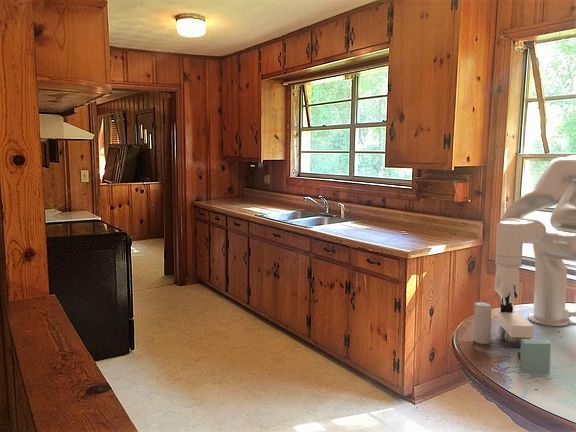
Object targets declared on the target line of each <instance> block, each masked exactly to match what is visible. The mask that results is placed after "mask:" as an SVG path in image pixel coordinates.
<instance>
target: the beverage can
mask: <svg viewBox="0 0 576 432" xmlns="http://www.w3.org/2000/svg"><path fill="white" fill-rule="evenodd" d="M473 307H474V308H473V313H474V314H473V341H474V342H475V343H476V344H479V345H488V344H490V343H491V335H492V334H491V332H492V331H491V327H492V326H491V325H492V305H491V303H489V302H486V301H477V302H474V306H473Z"/></svg>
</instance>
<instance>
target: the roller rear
mask: <svg viewBox="0 0 576 432" xmlns="http://www.w3.org/2000/svg"><path fill="white" fill-rule="evenodd" d="M505 333H506V331H505V330H504V328H503V327H502V326H501V325H500V326H499V329H498V334H499V335H498V336H499V338H500V340H505Z"/></svg>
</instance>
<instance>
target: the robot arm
mask: <svg viewBox="0 0 576 432" xmlns="http://www.w3.org/2000/svg"><path fill="white" fill-rule="evenodd" d="M553 206H555V208H554V210H553V211H552V214H551V216H550V220H549V221H550V224H551V226H552V227H553V228H554V229H553V228H546V226H545V223H543V222H541V221H540V220H535V219H529V218H528V219H527V218H524V217H526V216H527V215H529V214H530V213H534V212H536V211H540V210H544V209H547V208H551V207H553ZM495 238H496V241H495V265H496V267H495V277H494V287H493V289H494V291H495V293H496V294H498V296H499V297H500V312H502V313H514V304H515V302H516V301H515V299H518V298H519V295H520V268H521V267H522V265H523V264H522V262H523V244H530V245H531V244H532V248H533V253H534V254H533V255H534V261H535V262H534V265H535V267H534V269H535V270H534V290H533V292H534V293H533V311H532V312H529V313H528V315H527V318H528V320H529V321H531V322H533V323H535V324H538V325H543V326H548V327H564V326H568V325H570V322H571V319H570V318H571V317H574V318H576V310H573V309H567V308H566V301H567V300H566V298H567V278H568V271H567V266H566V264H565V263H564V261H569V262H574V263H576V154H574V155H569V156H566V157H565V156H564V157H556V158H553V159H552V160H551V161H550V162H549V163H548V165H547V167H546V168H545V170H544V171H543V173H542V174H541V177H540V178H539V180H538V182H537V183H536V184H535V186H534V188H533V190H531V191H530V192H527V193H526V194H524V195H522V196H521V197H519V198H518V199H516V200H515V201H513V202H512V203H511V204H509V206H508V207H507V208H506V210H505V211H504V213H503V215H502V217H501V219H500V221H499V222H498V223H497V224H496V237H495Z"/></svg>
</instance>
